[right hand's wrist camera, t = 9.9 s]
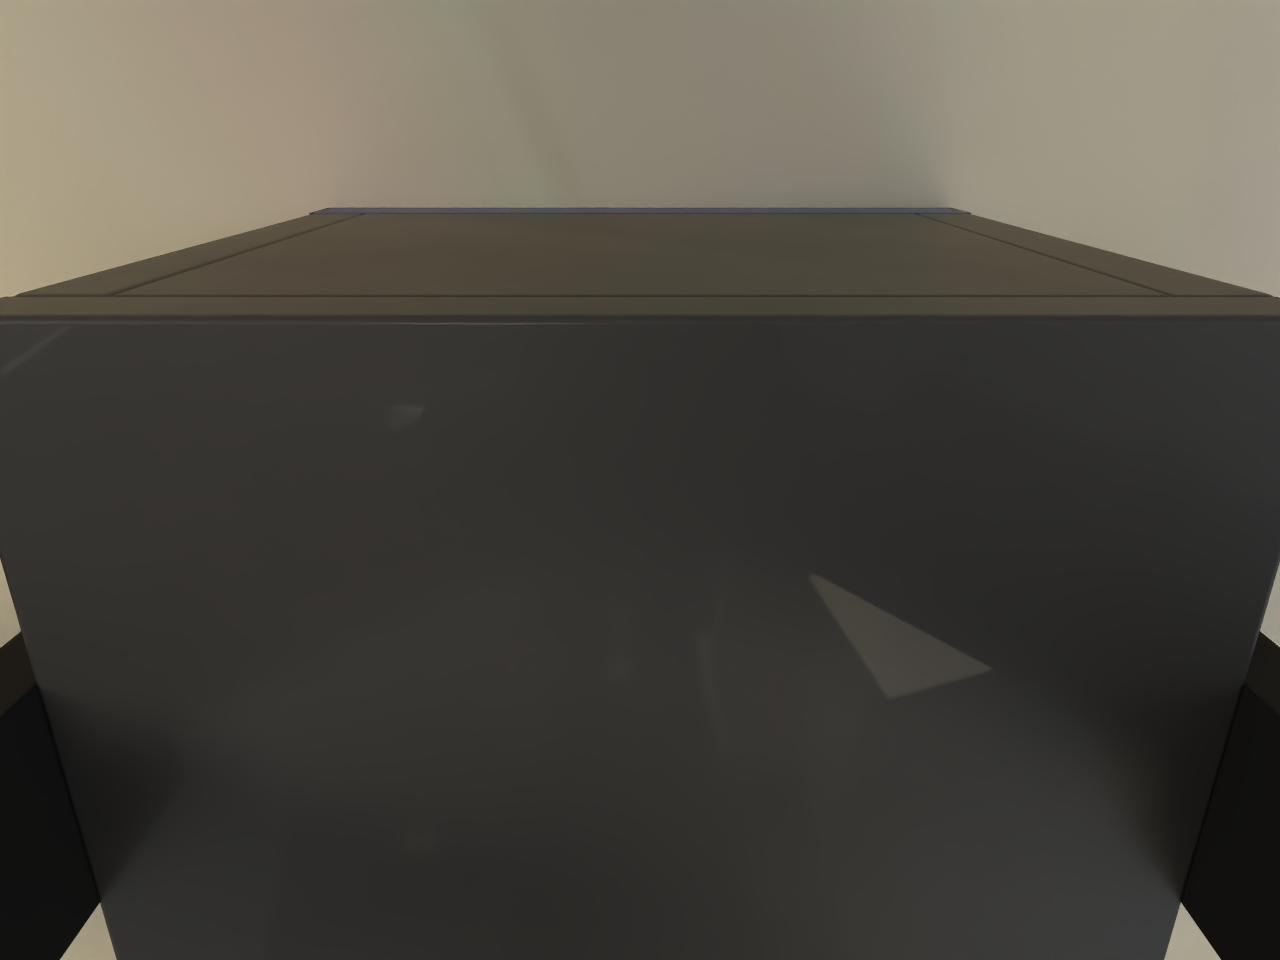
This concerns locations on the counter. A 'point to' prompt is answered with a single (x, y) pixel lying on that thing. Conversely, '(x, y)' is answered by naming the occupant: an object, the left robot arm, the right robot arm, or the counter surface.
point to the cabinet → (640, 582)
